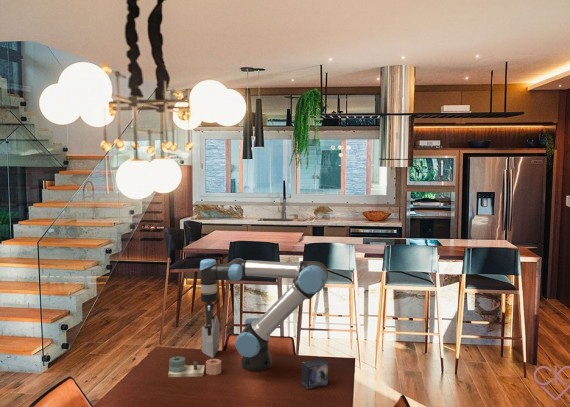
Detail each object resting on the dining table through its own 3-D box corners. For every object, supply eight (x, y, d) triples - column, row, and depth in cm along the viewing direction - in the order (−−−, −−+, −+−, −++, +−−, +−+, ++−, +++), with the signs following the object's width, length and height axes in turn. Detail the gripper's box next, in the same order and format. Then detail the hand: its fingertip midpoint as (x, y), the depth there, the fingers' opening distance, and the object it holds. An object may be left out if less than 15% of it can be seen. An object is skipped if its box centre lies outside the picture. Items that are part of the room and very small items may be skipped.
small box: (307, 390, 227) (308, 366, 227) (300, 384, 233) (300, 361, 232) (328, 385, 232) (328, 362, 232) (320, 380, 238) (321, 358, 237)
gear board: (204, 368, 251) (204, 354, 251) (203, 376, 241) (203, 362, 241) (170, 368, 250) (170, 355, 249) (168, 377, 240) (168, 363, 239)
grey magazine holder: (205, 346, 281) (205, 311, 280) (219, 347, 281) (219, 311, 280) (198, 357, 265) (198, 320, 264) (213, 358, 265) (213, 320, 263)
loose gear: (221, 368, 250) (221, 358, 250) (220, 374, 243) (220, 364, 243) (206, 369, 250) (206, 359, 249) (205, 375, 243) (205, 364, 242)
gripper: (201, 287, 255) (203, 329, 256) (199, 299, 230) (200, 346, 232) (217, 286, 256) (218, 329, 257) (216, 298, 231) (217, 345, 233)
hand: (210, 337), depth 244 cm, fingers open, 13 cm apart
